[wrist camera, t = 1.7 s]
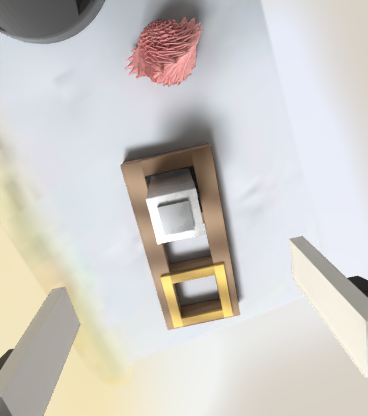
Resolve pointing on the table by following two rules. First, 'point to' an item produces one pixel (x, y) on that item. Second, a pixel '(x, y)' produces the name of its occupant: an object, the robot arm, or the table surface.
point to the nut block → (174, 206)
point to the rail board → (215, 230)
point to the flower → (166, 51)
